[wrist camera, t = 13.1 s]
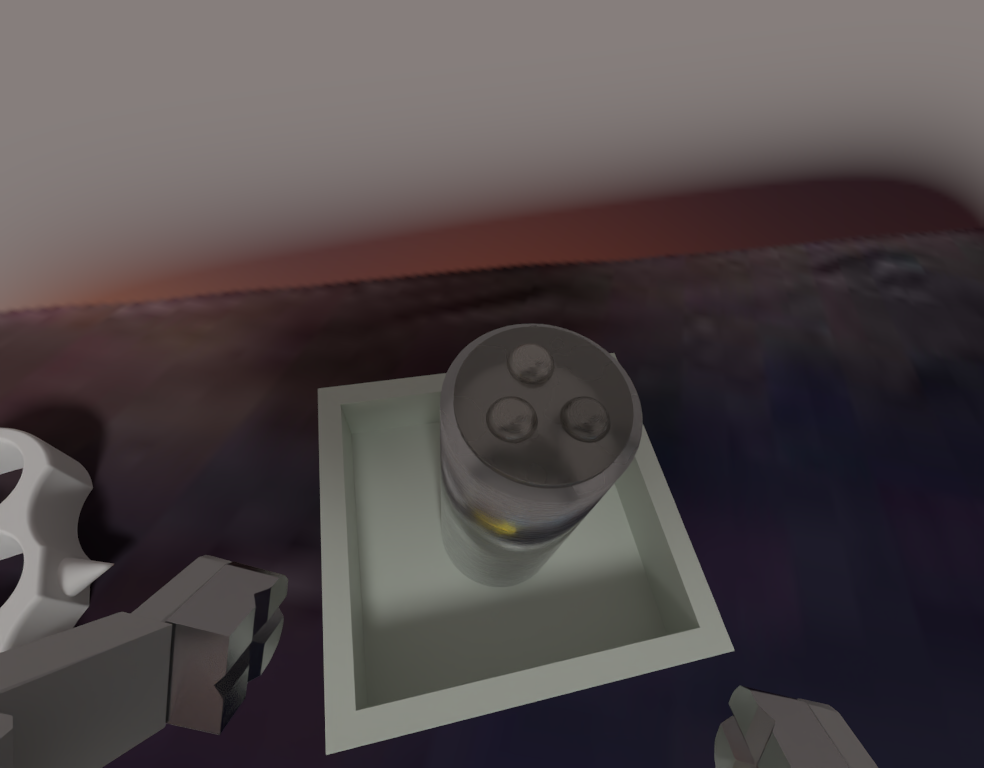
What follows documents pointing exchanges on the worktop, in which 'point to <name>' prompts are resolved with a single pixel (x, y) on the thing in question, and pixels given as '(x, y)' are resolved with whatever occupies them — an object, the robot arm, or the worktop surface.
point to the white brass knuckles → (43, 540)
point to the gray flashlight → (529, 446)
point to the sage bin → (472, 606)
